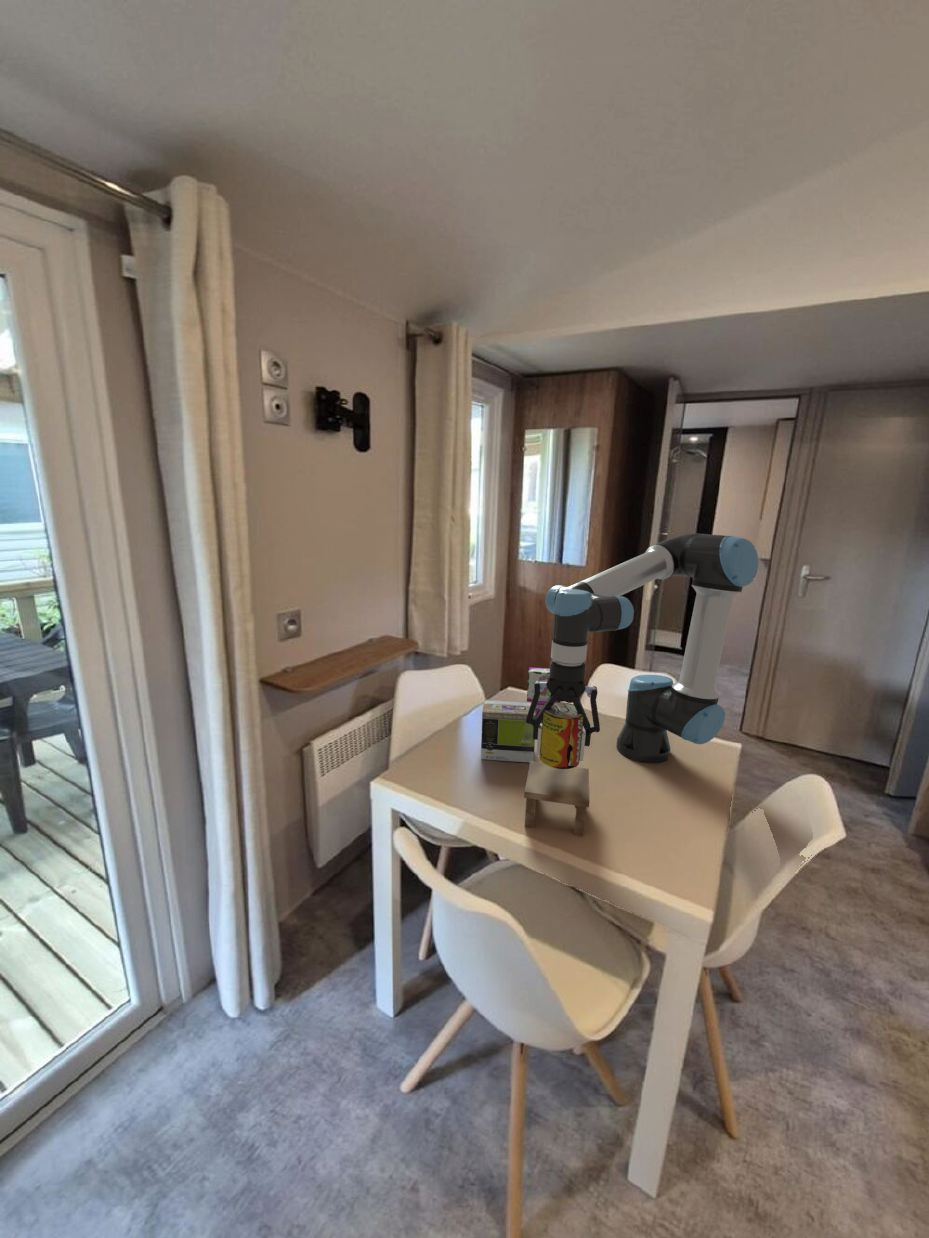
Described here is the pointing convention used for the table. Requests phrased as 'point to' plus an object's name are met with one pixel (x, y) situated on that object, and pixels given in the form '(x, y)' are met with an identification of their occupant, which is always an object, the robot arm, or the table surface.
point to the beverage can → (561, 736)
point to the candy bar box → (534, 675)
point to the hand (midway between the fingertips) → (559, 754)
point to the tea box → (507, 731)
